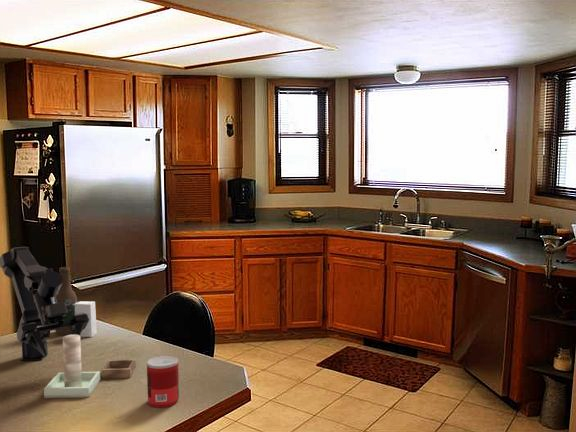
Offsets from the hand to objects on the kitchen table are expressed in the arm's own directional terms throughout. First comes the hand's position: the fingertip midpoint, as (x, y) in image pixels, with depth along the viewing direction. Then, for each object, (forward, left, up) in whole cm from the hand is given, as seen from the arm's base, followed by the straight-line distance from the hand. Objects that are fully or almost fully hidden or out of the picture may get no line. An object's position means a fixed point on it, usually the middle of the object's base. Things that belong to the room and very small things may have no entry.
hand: (62, 352), depth 159 cm
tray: (+4, -6, -8) cm, 11 cm away
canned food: (+30, -16, -9) cm, 35 cm away
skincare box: (-6, +42, -9) cm, 44 cm away
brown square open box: (+14, +5, -8) cm, 17 cm away
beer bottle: (-14, +46, -9) cm, 49 cm away
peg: (+4, -6, -8) cm, 11 cm away
